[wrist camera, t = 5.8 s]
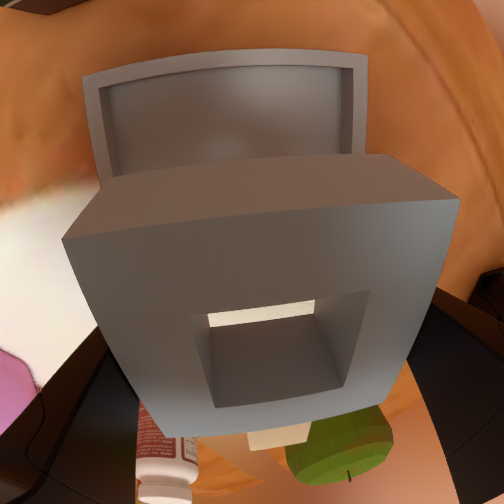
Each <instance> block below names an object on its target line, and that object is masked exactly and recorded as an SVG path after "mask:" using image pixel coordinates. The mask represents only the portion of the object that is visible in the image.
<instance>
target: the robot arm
mask: <svg viewBox="0 0 504 504" xmlns="http://www.w3.org/2000/svg"><path fill="white" fill-rule="evenodd" d="M406 360H407V362H408V364H409V366H410V369H411V371H412V373H413V375H414V378H415V380H416V382H417V385H418V387H419V389H420V392H421V394H422V397H423V399H424V401H425V404H426V406H427V409H428V411H429V414H430V416H431V419H432V422H433V424H434V427H435V430H436V432H437V435H438V438H439V440H440V443H441V446H442V449H443V451H444V455H445V457H446V461H447V464H448V467H449V470H450V473H451V476H452V479H453V483H454V486H455V489H456V492H457V496H458V499H459V503H460V504H483V503H485V502H487V501H489V500H492V499H493V498H495V497H497V496H499V495H501V494H503V493H504V268H503V269H499V270H496V271H492V272H489V273H485V274H483V275H482V276H481V277H480V279H479V282H478V284H477V287H476V289H475V291H474V294H473V296H472V298H471V301H470V303H469V304H468V303H466V302H464V301H462V300H460V299H458V298H457V297H455V296H453V295H451V294H449V293H447V292H445V291H443V290H442V289H440V288H438V287H436V289H435V291H434V294H433V297H432V300H431V302H430V305H429V307H428V310H427V313H426V315H425V318H424V320H423V322H422V325H421V327H420V330H419V332H418V334H417V337H416V339H415V341H414V343H413V346H412V348H411V350H410V352H409V354H408V356H407V358H406ZM139 408H140V399H139V397H138V396H137V394H136V392H135V391H134V389H133V388H132V386H131V384H130V383H129V381H128V379H127V378H126V376H125V374H124V373H123V371H122V369H121V367H120V366H119V364H118V362H117V360H116V359H115V357H114V355H113V353H112V351H111V349H110V348H109V346H108V344H107V342H106V340H105V338H104V336H103V334H102V332H101V330H100V328H99V326H97V327H96V328H95V329H94V330H93V331H92V332H91V333H90V334H89V335H88V337H87V338H86V339H85V340H84V341H83V342H82V343H81V344H80V345H79V347H78V348H77V349H76V350H75V351H74V352H73V353H72V354H71V355H70V357H69V358H68V359H67V360H66V361H65V362H64V363H63V365H62V366H61V367H60V368H59V369H58V370H57V371H56V373H55V374H54V375H53V376H52V377H51V378H50V380H49V381H48V382H47V383H46V384H45V385H44V387H43V388H42V389H41V392H38V394H37V395H36V396H35V397H34V399H33V400H32V401H31V402H30V403H29V404H28V406H27V407H26V408H25V409H24V410H23V411H22V413H21V414H20V415H19V416H18V417H17V418H16V419H15V420H14V421H13V423H12V424H11V425H10V426H9V427H8V428H7V429H6V430H5V431H4V432H3V433H2V434H1V435H0V504H135V483H136V452H137V434H138V420H139Z"/></svg>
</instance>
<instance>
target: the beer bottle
mask: <svg viewBox="0 0 504 504" xmlns="http://www.w3.org/2000/svg"><path fill="white" fill-rule="evenodd" d="M82 1H85V0H0V6H1V7H6V8H12V9H16V10H21V11H25V12H30V13H36V14H43V15H49V14H51V13H54V12H56V11H59V10H61V9H64V8H66V7H69V6H71V5H74V4H77V3H79V2H82Z"/></svg>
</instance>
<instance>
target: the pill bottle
mask: <svg viewBox="0 0 504 504" xmlns="http://www.w3.org/2000/svg"><path fill="white" fill-rule="evenodd" d="M197 477H198V460H197V446H196V437H180V438H166V437H165V435H164V434H163V433H162V431H161V430H160V428H159V427H158V426H157V424H156V423H155V421H154V420H153V418H152V417H151V415H150V414H149V412H148V411H147V409H146V408H145V406H144V405H143V403H142V402H141V400H140V408H139V420H138V434H137V452H136V478H137V479H139V480H140V481H141V482H142V484H140V485H139V488H138V499H139V500H140V501H142V502H145V503H149V504H191V503H192V492H191V489H190V488H189V487H188V486H189V484H191V483H193V482H194V481H195V480H196V479H197Z"/></svg>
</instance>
